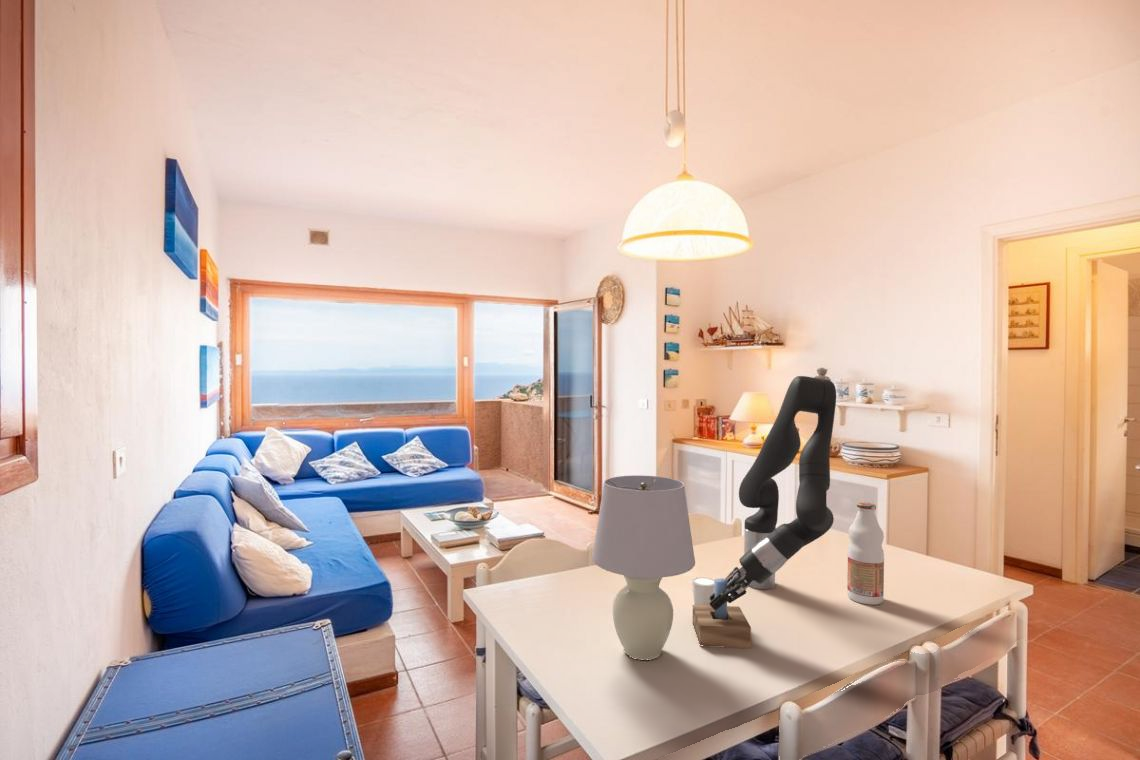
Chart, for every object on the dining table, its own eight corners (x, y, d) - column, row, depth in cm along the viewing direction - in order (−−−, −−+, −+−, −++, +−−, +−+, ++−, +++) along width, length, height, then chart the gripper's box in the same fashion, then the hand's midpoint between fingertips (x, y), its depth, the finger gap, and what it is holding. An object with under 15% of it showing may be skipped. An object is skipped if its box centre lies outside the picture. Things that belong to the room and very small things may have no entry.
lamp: (622, 689, 116) (623, 497, 115) (575, 638, 138) (576, 477, 137) (716, 666, 125) (717, 488, 125) (658, 622, 147) (659, 471, 147)
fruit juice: (858, 605, 159) (859, 507, 158) (840, 592, 168) (842, 500, 168) (890, 605, 159) (892, 507, 159) (871, 592, 168) (872, 500, 168)
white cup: (702, 612, 153) (703, 587, 153) (686, 603, 159) (686, 579, 159) (721, 608, 157) (722, 583, 156) (705, 599, 163) (705, 575, 163)
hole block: (692, 623, 146) (692, 604, 146) (739, 625, 146) (739, 606, 146) (699, 646, 134) (700, 625, 134) (750, 648, 134) (750, 627, 134)
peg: (713, 617, 142) (713, 578, 141) (725, 618, 141) (725, 578, 141) (715, 622, 138) (716, 582, 138) (728, 623, 138) (728, 583, 138)
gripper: (750, 540, 145) (701, 582, 148) (754, 557, 131) (700, 603, 134) (772, 562, 143) (722, 604, 147) (778, 581, 130) (723, 628, 133)
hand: (712, 603), depth 140 cm, fingers closed on peg, 3 cm apart
